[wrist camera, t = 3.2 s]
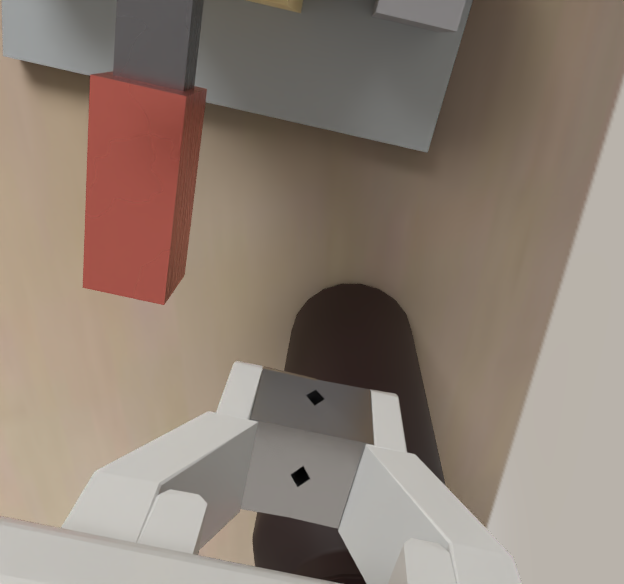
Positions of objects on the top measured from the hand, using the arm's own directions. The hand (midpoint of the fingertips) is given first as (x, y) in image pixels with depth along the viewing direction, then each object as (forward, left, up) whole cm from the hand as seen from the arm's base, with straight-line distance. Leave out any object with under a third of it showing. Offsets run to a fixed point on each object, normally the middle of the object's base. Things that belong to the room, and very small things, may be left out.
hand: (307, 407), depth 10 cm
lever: (-5, -6, -10) cm, 12 cm away
